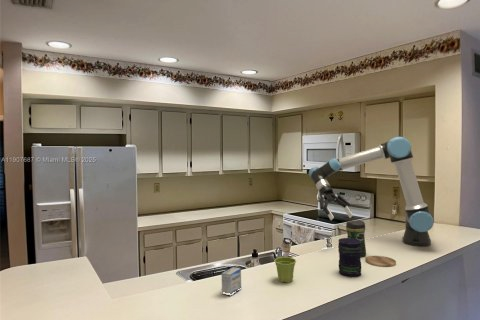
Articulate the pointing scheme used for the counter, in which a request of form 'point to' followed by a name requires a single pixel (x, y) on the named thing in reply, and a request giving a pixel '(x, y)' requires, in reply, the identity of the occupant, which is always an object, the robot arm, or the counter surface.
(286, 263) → the plant pot
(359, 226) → the coffee jar
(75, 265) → the counter surface
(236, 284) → the medicine box
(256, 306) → the counter surface
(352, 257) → the storage jar
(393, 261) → the plate
